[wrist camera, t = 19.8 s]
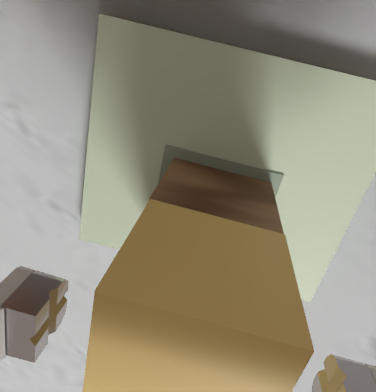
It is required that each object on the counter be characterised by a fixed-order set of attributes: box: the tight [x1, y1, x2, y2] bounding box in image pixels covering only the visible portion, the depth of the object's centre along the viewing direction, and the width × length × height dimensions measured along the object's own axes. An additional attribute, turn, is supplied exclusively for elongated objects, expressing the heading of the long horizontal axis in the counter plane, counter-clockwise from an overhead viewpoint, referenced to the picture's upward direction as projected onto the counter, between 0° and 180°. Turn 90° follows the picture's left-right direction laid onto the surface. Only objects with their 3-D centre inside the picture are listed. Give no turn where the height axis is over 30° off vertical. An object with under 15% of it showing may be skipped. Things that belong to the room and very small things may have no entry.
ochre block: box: [83, 199, 314, 392], centre depth 11 cm, size 5×5×5 cm
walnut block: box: [149, 158, 284, 234], centre depth 15 cm, size 5×5×5 cm
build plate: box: [79, 14, 376, 302], centre depth 17 cm, size 14×12×1 cm
